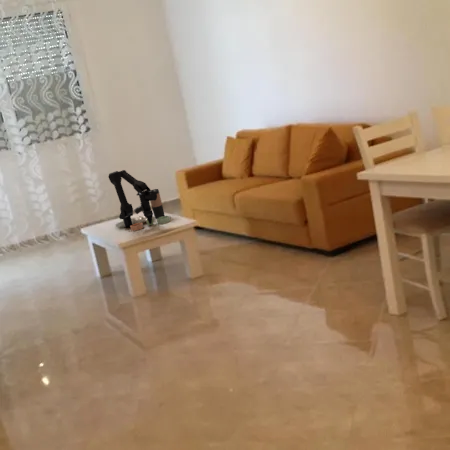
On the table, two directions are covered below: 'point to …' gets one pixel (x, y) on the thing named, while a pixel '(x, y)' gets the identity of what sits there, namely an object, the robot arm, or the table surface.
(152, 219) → the ball
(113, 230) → the table surface
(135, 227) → the terracotta cup
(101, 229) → the table surface
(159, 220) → the green cup
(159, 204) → the travel mug
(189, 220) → the table surface
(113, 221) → the table surface
